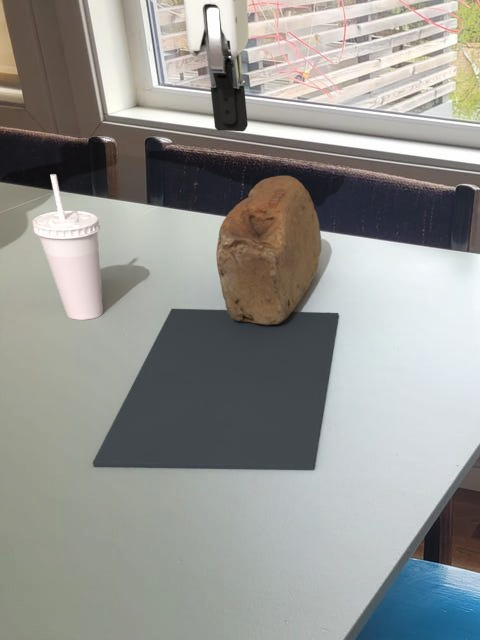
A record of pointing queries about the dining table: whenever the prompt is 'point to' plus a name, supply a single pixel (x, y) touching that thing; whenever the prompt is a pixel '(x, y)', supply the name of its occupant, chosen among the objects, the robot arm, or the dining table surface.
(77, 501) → the dining table surface
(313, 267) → the block
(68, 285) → the smoothie
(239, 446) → the mat
